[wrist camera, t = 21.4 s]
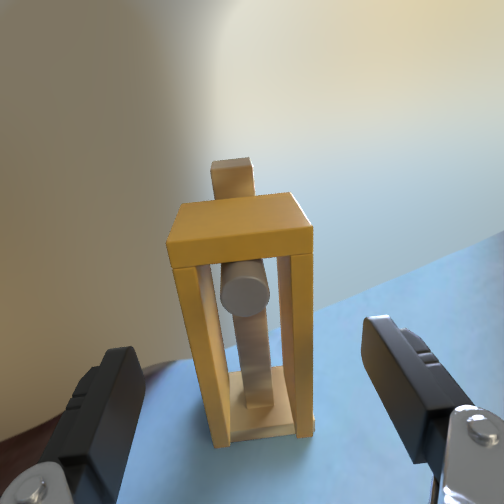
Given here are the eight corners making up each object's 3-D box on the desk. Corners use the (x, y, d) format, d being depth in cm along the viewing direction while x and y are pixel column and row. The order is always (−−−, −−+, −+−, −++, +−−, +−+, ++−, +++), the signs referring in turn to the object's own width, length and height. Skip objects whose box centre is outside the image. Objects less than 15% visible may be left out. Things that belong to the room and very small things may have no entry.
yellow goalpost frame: (213, 449, 15) (164, 242, 10) (216, 381, 19) (180, 203, 14) (313, 437, 15) (313, 226, 10) (296, 371, 19) (291, 191, 14)
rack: (209, 538, 17) (109, 229, 9) (215, 384, 26) (168, 161, 18) (338, 520, 17) (358, 201, 9) (299, 373, 26) (292, 147, 18)
